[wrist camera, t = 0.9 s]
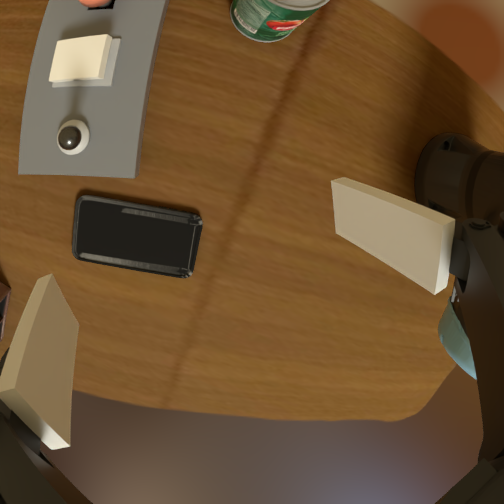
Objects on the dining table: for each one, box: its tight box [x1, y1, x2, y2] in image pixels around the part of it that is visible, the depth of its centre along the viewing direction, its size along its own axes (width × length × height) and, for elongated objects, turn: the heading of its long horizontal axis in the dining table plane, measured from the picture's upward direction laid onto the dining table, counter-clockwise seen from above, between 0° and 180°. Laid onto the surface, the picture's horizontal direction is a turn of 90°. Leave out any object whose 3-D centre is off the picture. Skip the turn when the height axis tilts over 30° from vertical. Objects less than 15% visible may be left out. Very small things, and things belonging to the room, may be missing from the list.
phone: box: [72, 195, 203, 278], centre depth 35 cm, size 8×1×15 cm
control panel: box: [18, 0, 169, 178], centre depth 26 cm, size 14×24×4 cm, turn 171°
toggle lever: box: [58, 125, 82, 150], centre depth 23 cm, size 2×2×8 cm
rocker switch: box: [49, 34, 112, 83], centre depth 23 cm, size 6×4×2 cm
